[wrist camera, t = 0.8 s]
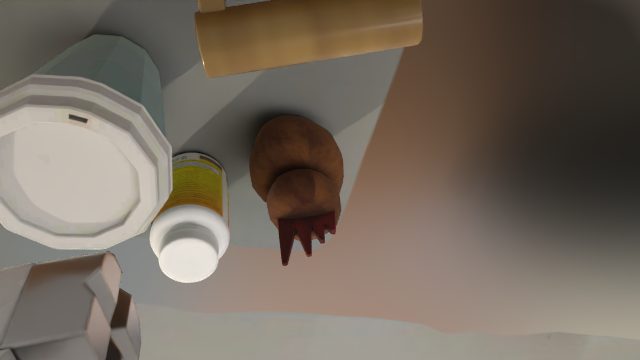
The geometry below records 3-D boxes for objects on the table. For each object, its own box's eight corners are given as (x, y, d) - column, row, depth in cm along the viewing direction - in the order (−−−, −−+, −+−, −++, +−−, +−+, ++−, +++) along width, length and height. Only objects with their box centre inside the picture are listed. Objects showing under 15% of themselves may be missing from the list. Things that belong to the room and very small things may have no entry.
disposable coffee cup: (165, 154, 47) (147, 284, 35) (18, 117, 44) (-61, 248, 31) (202, 29, 42) (196, 129, 30) (39, -23, 39) (-45, 66, 26)
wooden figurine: (240, 160, 48) (249, 289, 36) (256, 96, 46) (272, 212, 33) (319, 174, 50) (353, 301, 38) (340, 114, 47) (384, 229, 35)
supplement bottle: (146, 161, 47) (131, 242, 39) (214, 141, 47) (214, 218, 39) (173, 214, 50) (165, 301, 42) (236, 196, 50) (241, 278, 42)
